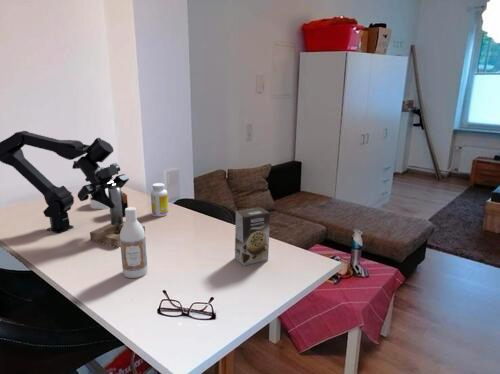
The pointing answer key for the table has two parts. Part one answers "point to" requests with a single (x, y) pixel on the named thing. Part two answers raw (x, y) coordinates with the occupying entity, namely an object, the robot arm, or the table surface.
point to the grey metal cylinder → (115, 205)
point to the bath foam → (133, 246)
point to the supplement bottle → (159, 200)
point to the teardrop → (98, 203)
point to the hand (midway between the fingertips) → (118, 206)
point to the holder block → (108, 234)
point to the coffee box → (252, 235)
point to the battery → (124, 203)
